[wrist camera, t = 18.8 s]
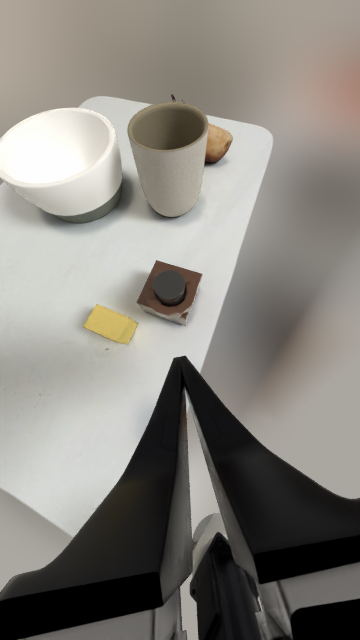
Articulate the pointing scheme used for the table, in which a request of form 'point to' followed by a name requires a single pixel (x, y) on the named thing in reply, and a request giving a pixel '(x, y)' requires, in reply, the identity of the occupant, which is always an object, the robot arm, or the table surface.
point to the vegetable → (216, 142)
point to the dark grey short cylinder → (169, 287)
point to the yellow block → (111, 324)
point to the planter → (169, 155)
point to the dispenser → (170, 312)
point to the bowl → (64, 163)
